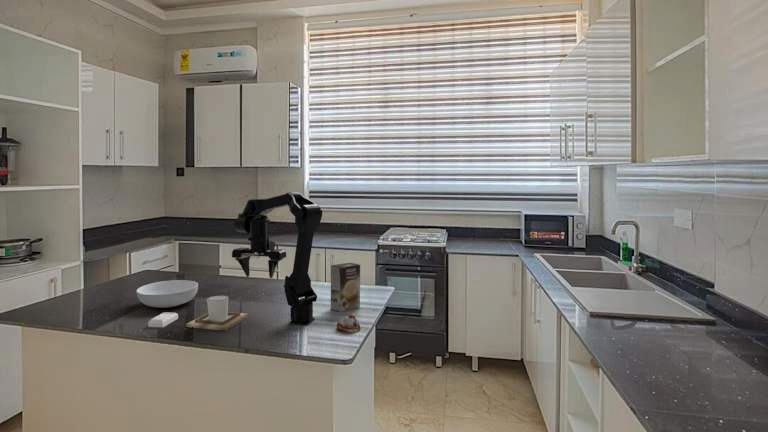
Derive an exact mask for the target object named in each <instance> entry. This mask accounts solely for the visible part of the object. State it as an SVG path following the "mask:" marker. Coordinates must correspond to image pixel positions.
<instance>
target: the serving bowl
mask: <svg viewBox="0 0 768 432" xmlns="http://www.w3.org/2000/svg"><path fill="white" fill-rule="evenodd" d="M198 290H199V282H198V281H197V282H196V281H194V280H188V279H187V280H184V279H183V280H182V279H176V280H173V279H172V280H163V281H156V282H152V283H149V284H144V285H142V286H140V287H138V288H137V289H136V291H135V293H136V296H137V299H138V300H139V301H140V302H141V303H142V304H143V305H145V306H147V307H150V308H151V307H152V308H161V309H166V308H167V309H169V308H174V307H178V306H180V305H183V304H186V303H188V302H190V301H191V300H192V299H194V298H195V296H196V295H197V293H198Z"/></svg>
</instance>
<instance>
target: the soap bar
mask: <svg viewBox="0 0 768 432" xmlns="http://www.w3.org/2000/svg"><path fill="white" fill-rule="evenodd" d="M178 319H179V314H178V313H176V312H169V311H167V312H165V311H163V312H162V313H160V314H159V315H156V316H155V317H153V318H151V319H149V321H148V322H147V328H164V327H166V326H169V324H171V323H173V322H174V321H176V320H178Z"/></svg>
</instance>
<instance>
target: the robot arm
mask: <svg viewBox="0 0 768 432" xmlns="http://www.w3.org/2000/svg"><path fill="white" fill-rule="evenodd" d="M246 202H247V203H246V205H245V207H244V208H243V212H241V213H238V214H237V215H238V217H236V219H235V220H234V223H233V227H234V231H236V232H239V233H244V234H245V233H246V234H249V237H248V239H247V240H248V241H249V243H250V248H249V247H237V248H234V249H232V251H231V258H233V259H234V260H235V261H237V262H238V264H239V265H240V266H241V269H242V270H243V272H244V274H245V276H246V277H247V278H248V277H249V276H250V259H251V256H253V257H268V258H269V260H267V263H268V264H267V265H268V275H269V278H270V279H273V277H274V274H275V271H276V268H277V266H278V264H279V262H280V261H282V260H283V259H285V258H287V252H286V250H285V249H281V248H280V249H279V248H275V247H276V242H274V241H272V240H270V236H269V235H267V233H268V229H267V228H268V227H267V225H268V224H267V223H270V222H271V219H270V218H269V217H268V216H267V215H268V214H270V213H271V212H272V211H273V210H276V209H279V208H284V207H288V209H289V212H290V213H291V214H292V215H293V216H294V223H295V226H296V228H297V230H298V233H297V239H296V246H295V247H296V248H295V254H294V259H293V260H294V261H293V266H292V267H293V269H292V272H291V273H290V274H287V275H285V277H284V285H283V288H284V295H285V299H286V302H287V305H288V306H290V308H289V309H290V314H289V315H290V321H289V324H292V325H305V326H308V325H310V324H311V323H312V322H314V320H316V317H314V305H313V303H315V302H317V300H318V299H317V298H318V295H317V293H316V292H315V290H314V289H313V288H312V280H311V277H310V275H309V267H310V260H311V254H312V247H313V242H314V234H315V231H316V230H317V229H318V228H319V226H320V225H321V222H322V221H321V220H322V217H323V210H322V209H321V207H320V206H319V204H318V203H315V202H314V201H313V200H311V199H309V198H307V197H306V196H304V195H303V194H302V193H301V192H298V191H292V192H286V193H284V194H281V195H276V196H272V197H268V198H253V199H251V198H250V199H248V200H247V201H246Z"/></svg>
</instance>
